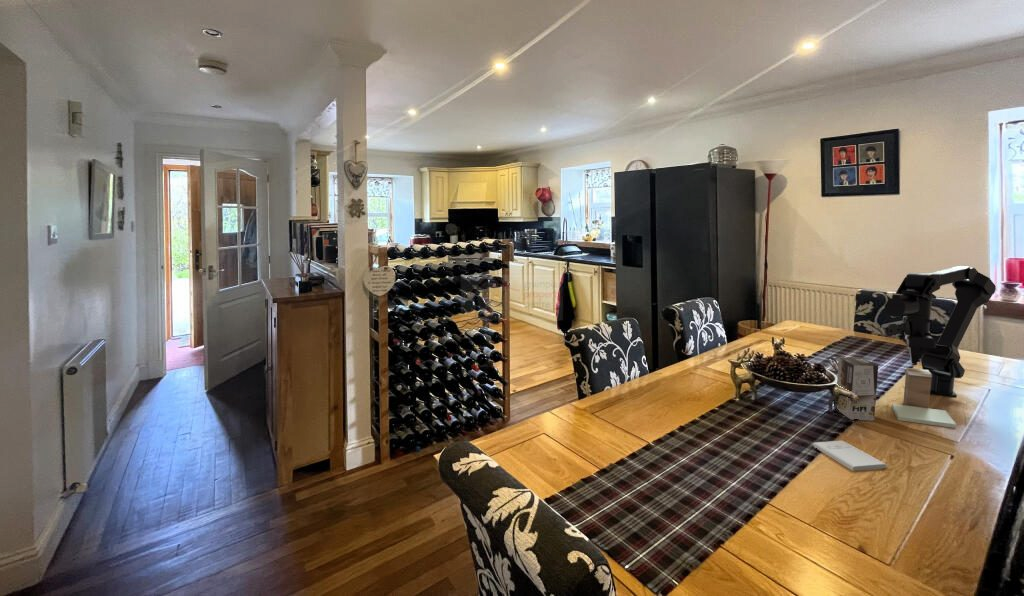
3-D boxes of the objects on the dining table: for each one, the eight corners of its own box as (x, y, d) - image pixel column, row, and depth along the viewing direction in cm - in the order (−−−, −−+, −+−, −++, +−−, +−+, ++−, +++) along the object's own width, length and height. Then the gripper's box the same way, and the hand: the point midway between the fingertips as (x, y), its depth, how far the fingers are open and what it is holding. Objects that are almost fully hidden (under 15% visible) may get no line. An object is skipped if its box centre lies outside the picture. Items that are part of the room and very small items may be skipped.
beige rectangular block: (903, 402, 143) (906, 367, 142) (924, 405, 141) (927, 369, 139) (906, 407, 139) (909, 372, 138) (928, 410, 136) (931, 374, 135)
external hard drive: (852, 473, 105) (812, 448, 117) (886, 470, 106) (843, 445, 118) (852, 466, 105) (812, 442, 117) (886, 463, 106) (843, 439, 118)
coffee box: (875, 421, 131) (879, 365, 128) (849, 420, 132) (853, 364, 130) (858, 409, 140) (862, 356, 137) (834, 408, 141) (837, 356, 139)
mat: (891, 406, 140) (892, 403, 140) (945, 413, 134) (945, 410, 134) (898, 419, 131) (898, 416, 131) (955, 428, 125) (956, 424, 124)
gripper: (880, 308, 155) (877, 353, 157) (889, 317, 139) (885, 368, 141) (924, 309, 149) (920, 357, 151) (939, 320, 133) (934, 372, 136)
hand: (913, 363), depth 145 cm, fingers closed
